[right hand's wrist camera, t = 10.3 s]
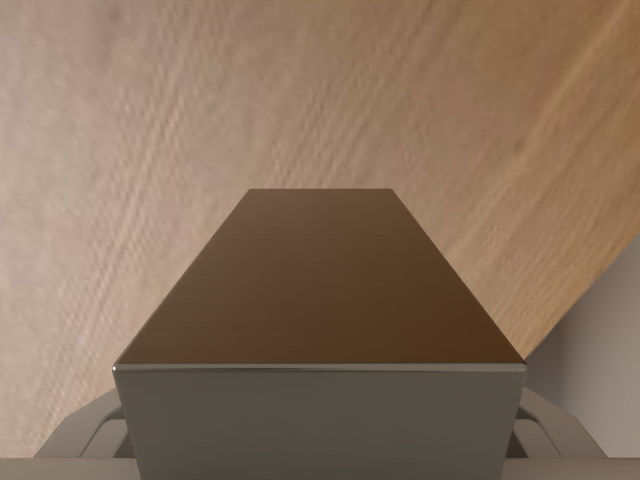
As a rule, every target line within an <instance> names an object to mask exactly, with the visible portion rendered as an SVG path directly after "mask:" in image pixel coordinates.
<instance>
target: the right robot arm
mask: <svg viewBox="0 0 640 480" xmlns="http://www.w3.org/2000/svg"><path fill="white" fill-rule="evenodd" d="M0 480H141V477H140V473H139V470H138V466H137V462H136V458H135V455H134V451H133V447H132V443H131V440H130V436H129V432H128V428H127V425H126V421H125V417H124V413H123V410H122V406H121V402H120V399H119V395H118V391H117V387H115V388H114V389H112V390H110V391H109V392H107V393H105V394H104V395H102V396H100V397H99V398H97V399H95V400H94V401H92V402H90V403H89V404H87V405H85V406H84V407H82V408H80V409H79V410H77V411H75V412H74V413H72V414H70V415H69V416H67V417H65V419H64V420H63V421H62V422H61V424H60V425H59V426H58V427H57V429H56V430H55V431H54V432H53V434H52V435H51V436H50V437H49V439H48V440H47V441H46V442H45V444H44V445H43V446H42V447H41V449H40V450H39V451H38V452H37V454H36V455H35V456H34V457H33V458H0ZM500 480H640V458H608V457H607V455H606V454H605V453H604V452H603V450H602V449H601V448H600V447H599V445H598V444H597V443H596V442H595V440H594V439H593V438H592V437H591V435H590V434H589V433H588V432H587V430H586V429H585V428H584V427H583V425H582V424H581V423H580V422H579V420H578V419H577V418H576V417H574V416H572V415H571V414H569V413H567V412H566V411H564V410H562V409H561V408H559V407H557V406H556V405H554V404H552V403H551V402H549V401H547V400H546V399H544V398H542V397H541V396H539V395H537V394H536V393H534V392H533V391H531V390H529V389H527V388H526V387H524V388H523V392H522V396H521V400H520V403H519V407H518V411H517V415H516V419H515V422H514V426H513V430H512V434H511V438H510V441H509V445H508V449H507V453H506V457H505V461H504V464H503V468H502V472H501V476H500Z"/></svg>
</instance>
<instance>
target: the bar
mask: <svg viewBox="0 0 640 480" xmlns="http://www.w3.org/2000/svg"><path fill="white" fill-rule="evenodd" d="M112 372H113V376H114V380H115V384H116V387H117V391H118V395H119V399H120V402H121V406H122V410H123V413H124V417H125V421H126V425H127V428H128V432H129V436H130V440H131V443H132V447H133V451H134V455H135V458H136V462H137V466H138V470H139V473H140V477H141V480H500V476H501V472H502V468H503V464H504V461H505V457H506V453H507V449H508V445H509V441H510V438H511V434H512V430H513V426H514V422H515V419H516V415H517V411H518V407H519V403H520V400H521V396H522V392H523V388H524V384H525V380H526V377H527V373H528V369H527V365H526V363H525V361H524V360H523V359H522V358H521V356H520V355H519V354H518V352H517V351H516V350H515V348H514V347H513V346H512V345H511V343H510V342H509V341H508V339H507V338H506V337H505V335H504V334H503V333H502V332H501V330H500V329H499V328H498V326H497V325H496V324H495V322H494V321H493V320H492V319H491V317H490V316H489V315H488V313H487V312H486V311H485V309H484V308H483V307H482V306H481V304H480V303H479V302H478V300H477V299H476V298H475V296H474V295H473V294H472V293H471V291H470V290H469V289H468V287H467V286H466V285H465V283H464V282H463V281H462V280H461V278H460V277H459V276H458V274H457V273H456V272H455V270H454V269H453V268H452V267H451V265H450V264H449V263H448V261H447V260H446V259H445V257H444V256H443V255H442V254H441V252H440V251H439V250H438V248H437V247H436V246H435V244H434V243H433V242H432V241H431V239H430V238H429V237H428V235H427V234H426V233H425V231H424V230H423V229H422V228H421V226H420V225H419V224H418V222H417V221H416V220H415V218H414V217H413V216H412V214H411V213H410V212H409V211H408V209H407V208H406V207H405V205H404V204H403V203H402V201H401V200H400V199H399V198H398V196H397V195H396V194H395V192H394V191H393V190H392V189H249V190H248V191H247V193H246V194H245V195H244V196H243V198H242V199H241V200H240V202H239V203H238V204H237V205H236V207H235V208H234V209H233V211H232V212H231V213H230V215H229V216H228V217H227V218H226V220H225V221H224V222H223V224H222V225H221V226H220V227H219V229H218V230H217V231H216V233H215V234H214V235H213V236H212V238H211V239H210V240H209V242H208V243H207V244H206V245H205V247H204V248H203V249H202V251H201V252H200V253H199V255H198V256H197V257H196V258H195V260H194V261H193V262H192V264H191V265H190V266H189V267H188V269H187V270H186V271H185V273H184V274H183V275H182V276H181V278H180V279H179V280H178V282H177V283H176V284H175V286H174V287H173V288H172V289H171V291H170V292H169V293H168V295H167V296H166V297H165V298H164V300H163V301H162V302H161V304H160V305H159V306H158V307H157V309H156V310H155V311H154V313H153V314H152V315H151V317H150V318H149V319H148V320H147V322H146V323H145V324H144V326H143V327H142V328H141V329H140V331H139V332H138V333H137V335H136V336H135V337H134V338H133V340H132V341H131V342H130V344H129V345H128V346H127V348H126V349H125V350H124V351H123V353H122V354H121V355H120V357H119V358H118V359H117V360H116V362H115V363H114V365H113V370H112Z"/></svg>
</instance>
